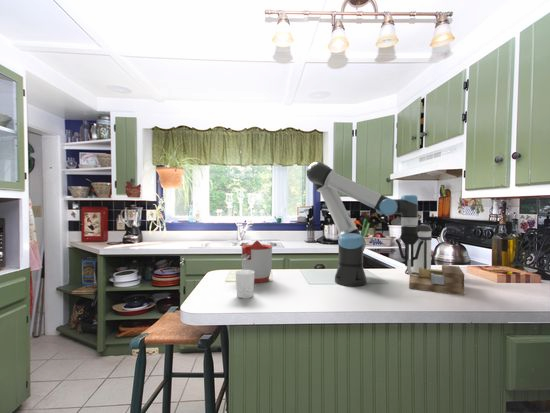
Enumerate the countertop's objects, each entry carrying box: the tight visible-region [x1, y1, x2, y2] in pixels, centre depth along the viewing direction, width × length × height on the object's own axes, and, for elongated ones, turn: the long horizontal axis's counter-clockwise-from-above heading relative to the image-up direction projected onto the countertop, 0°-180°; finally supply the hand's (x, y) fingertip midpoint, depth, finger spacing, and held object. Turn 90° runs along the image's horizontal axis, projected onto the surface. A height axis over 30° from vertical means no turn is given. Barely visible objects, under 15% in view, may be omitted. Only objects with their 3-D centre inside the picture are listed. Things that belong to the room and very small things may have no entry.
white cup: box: [235, 269, 255, 299], centre depth 116 cm, size 8×8×10 cm
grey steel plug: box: [431, 273, 445, 285], centre depth 123 cm, size 11×4×4 cm, turn 63°
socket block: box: [408, 264, 465, 296], centre depth 130 cm, size 21×17×9 cm
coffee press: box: [404, 219, 433, 275], centre depth 156 cm, size 17×16×30 cm
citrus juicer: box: [240, 240, 273, 284], centre depth 140 cm, size 16×17×20 cm
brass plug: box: [418, 267, 443, 278], centre depth 135 cm, size 11×4×4 cm, turn 63°
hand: (409, 272), depth 140 cm, fingers closed
